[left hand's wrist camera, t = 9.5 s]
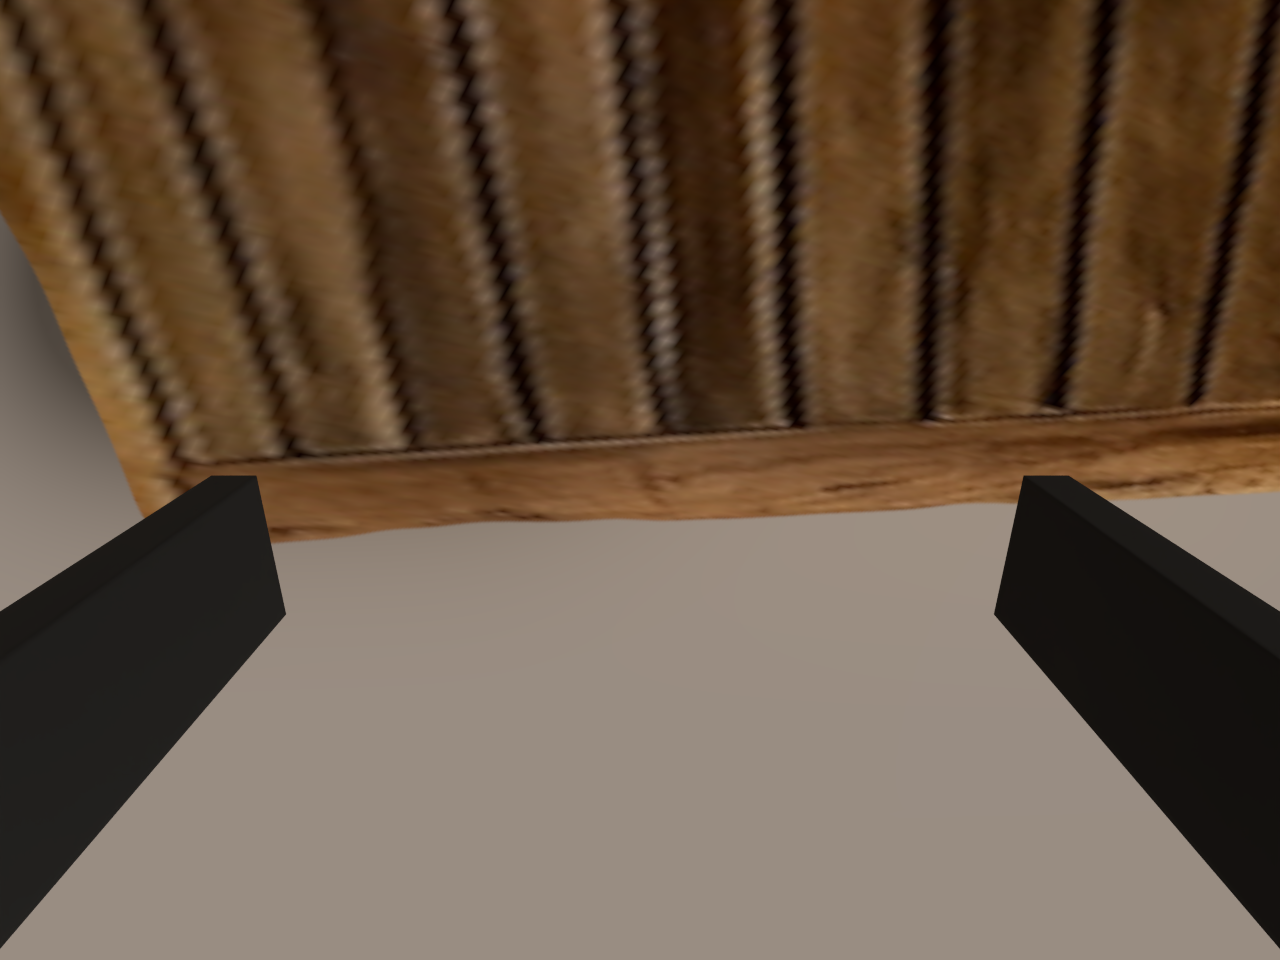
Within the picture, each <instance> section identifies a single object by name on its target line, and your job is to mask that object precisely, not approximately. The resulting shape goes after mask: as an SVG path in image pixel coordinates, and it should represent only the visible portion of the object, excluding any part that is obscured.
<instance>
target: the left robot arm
mask: <svg viewBox="0 0 1280 960" xmlns="http://www.w3.org/2000/svg"><path fill="white" fill-rule="evenodd" d="M285 615H286V612H285V607H284V603H283V598H282V593H281V589H280V584H279V579H278V575H277V570H276V565H275V561H274V556H273V551H272V547H271V542H270V537H269V533H268V528H267V523H266V519H265V514H264V509H263V505H262V500H261V495H260V491H259V486H258V481H257V477H256V476H210V477H209V478H207V479H206V480H204V481H202V482H201V483H199V484H198V485H196V486H195V487H193V488H192V489H190V490H188V491H187V492H185V493H184V494H182V495H181V496H179V497H178V498H176V499H174V500H173V501H171V502H170V503H168V504H167V505H165V506H164V507H162V508H160V509H159V510H157V511H156V512H154V513H153V514H151V515H150V516H148V517H146V518H145V519H143V520H142V521H140V522H139V523H137V524H136V525H134V526H132V527H131V528H129V529H128V530H126V531H125V532H123V533H122V534H120V535H118V536H117V537H115V538H114V539H112V540H111V541H109V542H108V543H106V544H105V545H103V546H101V547H100V548H98V549H97V550H95V551H94V552H92V553H90V554H89V555H87V556H86V557H84V558H83V559H81V560H80V561H78V562H76V563H75V564H73V565H72V566H70V567H69V568H67V569H66V570H64V571H62V572H61V573H59V574H58V575H56V576H55V577H53V578H52V579H50V580H48V581H47V582H45V583H44V584H42V585H41V586H39V587H38V588H36V589H35V590H33V591H31V592H30V593H28V594H27V595H25V596H24V597H22V598H20V599H19V600H17V601H16V602H14V603H13V604H11V605H10V606H8V607H6V608H5V609H3V610H2V611H0V948H1V947H2V946H3V945H4V944H5V942H6V941H7V940H8V939H9V938H10V936H11V935H12V934H13V933H14V932H15V931H16V930H17V928H18V927H19V926H20V925H21V924H22V923H23V921H24V920H25V919H26V918H27V917H28V915H29V914H30V913H31V912H32V911H33V910H34V908H35V907H36V906H37V905H38V904H39V903H40V901H41V900H42V899H43V898H44V897H45V896H46V894H47V893H48V892H49V891H50V890H51V888H52V887H53V886H54V885H55V884H56V883H57V882H58V880H59V879H60V878H61V877H62V876H63V875H64V873H65V872H66V871H67V870H68V869H69V867H70V866H71V865H72V864H73V863H74V862H75V861H76V859H77V858H78V857H79V856H80V855H81V853H82V852H83V851H84V850H85V849H86V848H87V846H88V845H89V844H90V843H91V842H92V841H93V839H94V838H95V837H96V836H97V835H98V834H99V832H100V831H101V830H102V829H103V828H104V827H105V825H106V824H107V823H108V822H109V821H110V819H111V818H112V817H113V816H114V815H115V814H116V812H117V811H118V810H119V809H120V808H121V807H122V806H123V804H124V803H125V802H126V801H127V800H128V798H129V797H130V796H131V795H132V794H133V793H134V791H135V790H136V789H137V788H138V787H139V786H140V784H141V783H142V782H143V781H144V780H145V779H146V777H147V776H148V775H149V774H150V773H151V772H152V770H153V769H154V768H155V767H156V766H157V765H158V763H159V762H160V761H161V760H162V759H163V758H164V756H165V755H166V754H167V753H168V752H169V751H170V749H171V748H172V747H173V746H174V745H175V744H176V742H177V741H178V740H179V739H180V738H181V737H182V735H183V734H184V733H185V732H186V731H187V729H188V728H189V727H190V726H191V725H192V724H193V722H194V721H195V720H196V719H197V718H198V717H199V715H200V714H201V713H202V712H203V711H204V710H205V708H206V707H207V706H208V705H209V704H210V703H211V701H212V700H213V699H214V698H215V697H216V696H217V694H218V693H219V692H220V691H221V690H222V689H223V687H224V686H225V685H226V684H227V683H228V681H229V680H230V679H231V678H232V677H233V676H234V675H235V673H236V672H237V671H238V670H239V669H240V667H241V666H242V665H243V664H244V663H245V662H246V660H247V659H248V658H249V657H250V656H251V655H252V653H253V652H254V651H255V650H256V649H257V648H258V646H259V645H260V644H261V643H262V642H263V641H264V639H265V638H266V637H267V636H268V635H269V634H270V632H271V631H272V630H273V629H274V628H275V627H276V625H277V624H278V623H279V622H280V621H281V619H282V618H283V617H284V616H285ZM994 615H995V616H996V617H997V618H998V620H999V621H1000V622H1001V623H1002V624H1003V625H1004V626H1005V628H1006V629H1007V630H1008V631H1009V632H1010V634H1011V635H1012V636H1013V637H1014V638H1015V639H1016V641H1017V642H1018V643H1019V644H1020V645H1021V646H1022V648H1023V649H1024V650H1025V651H1026V652H1027V653H1028V655H1029V656H1030V657H1031V658H1032V659H1033V660H1034V662H1035V663H1036V664H1037V665H1038V666H1039V667H1040V669H1041V670H1042V671H1043V672H1044V673H1045V675H1046V676H1047V677H1048V678H1049V679H1050V680H1051V682H1052V683H1053V684H1054V685H1055V686H1056V687H1057V688H1058V690H1059V691H1060V692H1061V693H1062V694H1063V696H1064V697H1065V698H1066V699H1067V700H1068V701H1069V703H1070V704H1071V705H1072V706H1073V707H1074V708H1075V710H1076V711H1077V712H1078V713H1079V714H1080V715H1081V717H1082V718H1083V719H1084V720H1085V721H1086V722H1087V724H1088V725H1089V726H1090V727H1091V728H1092V730H1093V731H1094V732H1095V733H1096V734H1097V735H1098V737H1099V738H1100V739H1101V740H1102V741H1103V742H1104V744H1105V745H1106V746H1107V747H1108V748H1109V749H1110V751H1111V752H1112V753H1113V754H1114V755H1115V756H1116V758H1117V759H1118V760H1119V761H1120V762H1121V763H1122V765H1123V766H1124V767H1125V768H1126V769H1127V770H1128V772H1129V773H1130V774H1131V775H1132V776H1133V777H1134V779H1135V780H1136V781H1137V782H1138V783H1139V784H1140V786H1141V787H1142V788H1143V789H1144V790H1145V791H1146V793H1147V794H1148V795H1149V796H1150V797H1151V799H1152V800H1153V801H1154V802H1155V803H1156V804H1157V806H1158V807H1159V808H1160V809H1161V810H1162V811H1163V813H1164V814H1165V815H1166V816H1167V817H1168V818H1169V820H1170V821H1171V822H1172V823H1173V824H1174V825H1175V826H1176V828H1177V829H1178V830H1179V831H1180V832H1181V834H1182V835H1183V836H1184V837H1185V838H1186V839H1187V841H1188V842H1189V843H1190V844H1191V845H1192V846H1193V848H1194V849H1195V850H1196V851H1197V852H1198V854H1199V855H1200V856H1201V857H1202V858H1203V859H1204V860H1205V862H1206V863H1207V864H1208V865H1209V866H1210V868H1211V869H1212V870H1213V871H1214V872H1215V873H1216V875H1217V876H1218V877H1219V878H1220V879H1221V880H1222V882H1223V883H1224V884H1225V885H1226V886H1227V887H1228V889H1229V890H1230V891H1231V892H1232V893H1233V894H1234V896H1235V897H1236V898H1237V899H1238V900H1239V901H1240V903H1241V904H1242V905H1243V906H1244V907H1245V908H1246V910H1247V911H1248V912H1249V913H1250V914H1251V915H1252V917H1253V918H1254V919H1255V920H1256V921H1257V923H1258V924H1259V925H1260V926H1261V927H1262V928H1263V930H1264V931H1265V932H1266V933H1267V934H1268V935H1269V936H1270V938H1271V939H1272V940H1273V941H1274V942H1275V944H1276V945H1277V946H1278V947H1279V948H1280V611H1278V610H1277V609H1275V608H1274V607H1272V606H1270V605H1269V604H1267V603H1266V602H1264V601H1263V600H1261V599H1260V598H1258V597H1256V596H1255V595H1253V594H1252V593H1250V592H1249V591H1247V590H1246V589H1244V588H1242V587H1241V586H1239V585H1238V584H1236V583H1235V582H1233V581H1232V580H1230V579H1228V578H1227V577H1225V576H1224V575H1222V574H1221V573H1219V572H1218V571H1216V570H1214V569H1213V568H1211V567H1210V566H1208V565H1207V564H1205V563H1204V562H1202V561H1200V560H1199V559H1197V558H1196V557H1194V556H1193V555H1191V554H1190V553H1188V552H1186V551H1185V550H1183V549H1182V548H1180V547H1179V546H1177V545H1176V544H1174V543H1172V542H1171V541H1169V540H1168V539H1166V538H1165V537H1163V536H1162V535H1160V534H1158V533H1157V532H1155V531H1154V530H1152V529H1151V528H1149V527H1148V526H1146V525H1144V524H1143V523H1141V522H1140V521H1138V520H1137V519H1135V518H1134V517H1132V516H1130V515H1129V514H1127V513H1126V512H1124V511H1123V510H1121V509H1120V508H1118V507H1116V506H1115V505H1113V504H1112V503H1110V502H1109V501H1107V500H1106V499H1104V498H1102V497H1101V496H1099V495H1098V494H1096V493H1095V492H1093V491H1092V490H1090V489H1088V488H1087V487H1085V486H1084V485H1082V484H1081V483H1079V482H1078V481H1076V480H1074V479H1073V478H1071V477H1070V476H1024V477H1023V481H1022V486H1021V491H1020V495H1019V500H1018V505H1017V509H1016V514H1015V519H1014V523H1013V528H1012V533H1011V538H1010V542H1009V547H1008V551H1007V556H1006V561H1005V565H1004V570H1003V575H1002V579H1001V584H1000V589H999V593H998V598H997V603H996V607H995V612H994Z"/></svg>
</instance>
